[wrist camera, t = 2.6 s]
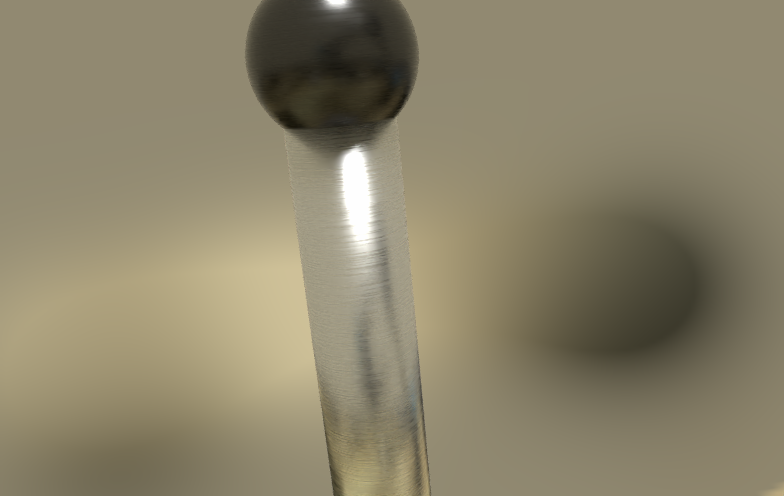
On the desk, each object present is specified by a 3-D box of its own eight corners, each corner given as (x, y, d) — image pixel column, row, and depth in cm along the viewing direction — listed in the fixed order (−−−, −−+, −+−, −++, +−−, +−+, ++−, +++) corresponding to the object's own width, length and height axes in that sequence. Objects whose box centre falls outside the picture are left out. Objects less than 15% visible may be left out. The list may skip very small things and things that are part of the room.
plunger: (419, 640, 29) (351, -17, 22) (554, 760, 24) (525, -58, 16) (276, 755, 25) (132, -13, 17) (402, 931, 19) (270, -65, 12)
